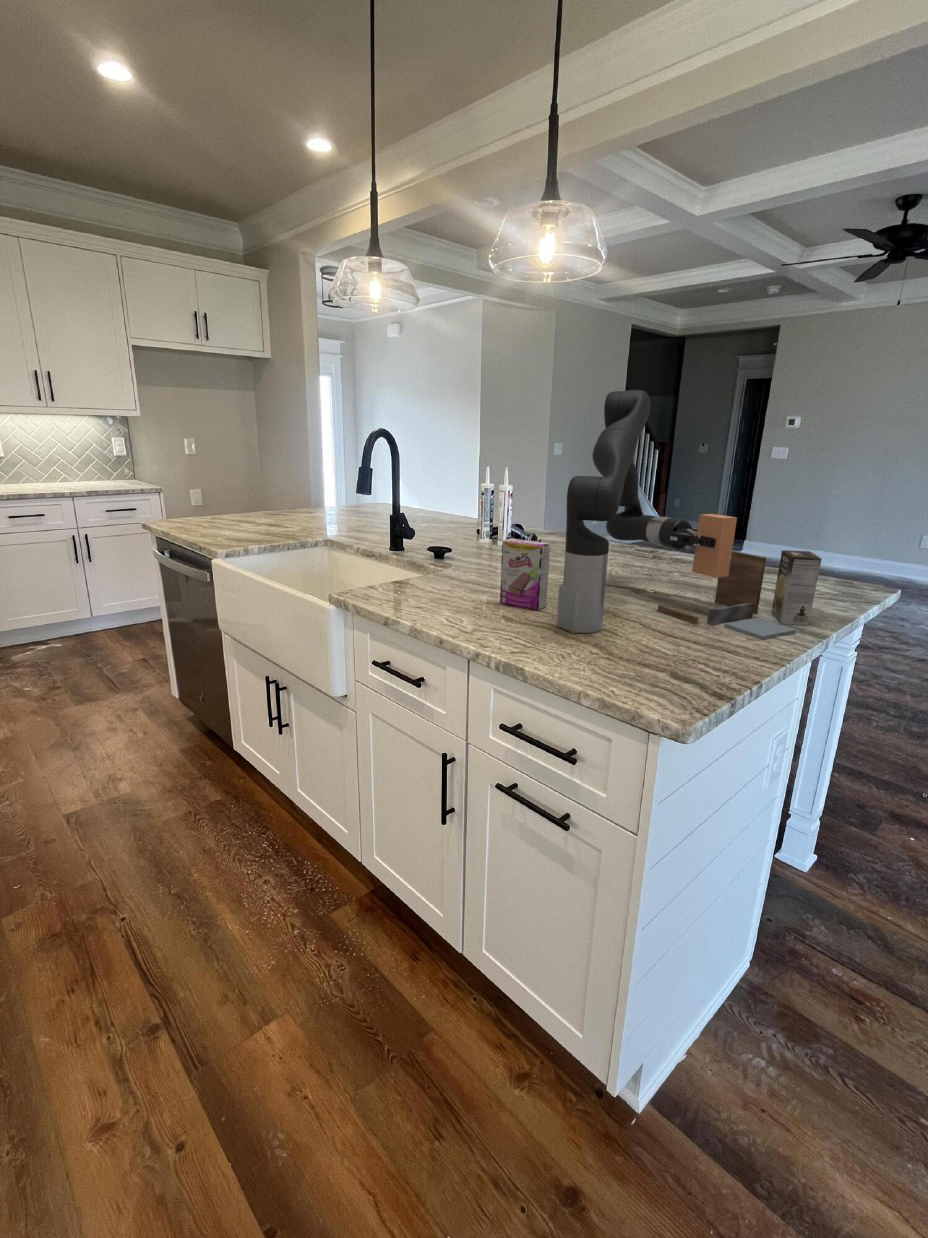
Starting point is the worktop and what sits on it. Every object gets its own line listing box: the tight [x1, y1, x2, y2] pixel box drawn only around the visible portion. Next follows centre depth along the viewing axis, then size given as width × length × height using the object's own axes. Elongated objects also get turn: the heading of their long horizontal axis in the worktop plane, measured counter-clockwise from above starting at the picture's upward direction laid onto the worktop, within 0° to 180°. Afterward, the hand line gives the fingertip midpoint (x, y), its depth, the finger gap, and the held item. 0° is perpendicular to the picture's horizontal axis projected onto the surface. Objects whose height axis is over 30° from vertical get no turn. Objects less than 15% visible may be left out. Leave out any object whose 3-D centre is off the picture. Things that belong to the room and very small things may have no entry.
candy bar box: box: [499, 538, 551, 611], centre depth 151 cm, size 11×5×16 cm, turn 58°
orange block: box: [692, 513, 738, 579], centre depth 145 cm, size 4×7×14 cm, turn 27°
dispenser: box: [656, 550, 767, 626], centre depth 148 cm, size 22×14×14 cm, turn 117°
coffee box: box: [771, 549, 822, 627], centre depth 143 cm, size 9×6×16 cm
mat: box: [723, 617, 797, 640], centre depth 137 cm, size 11×10×1 cm
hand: (722, 542), depth 143 cm, fingers closed on orange block, 4 cm apart
